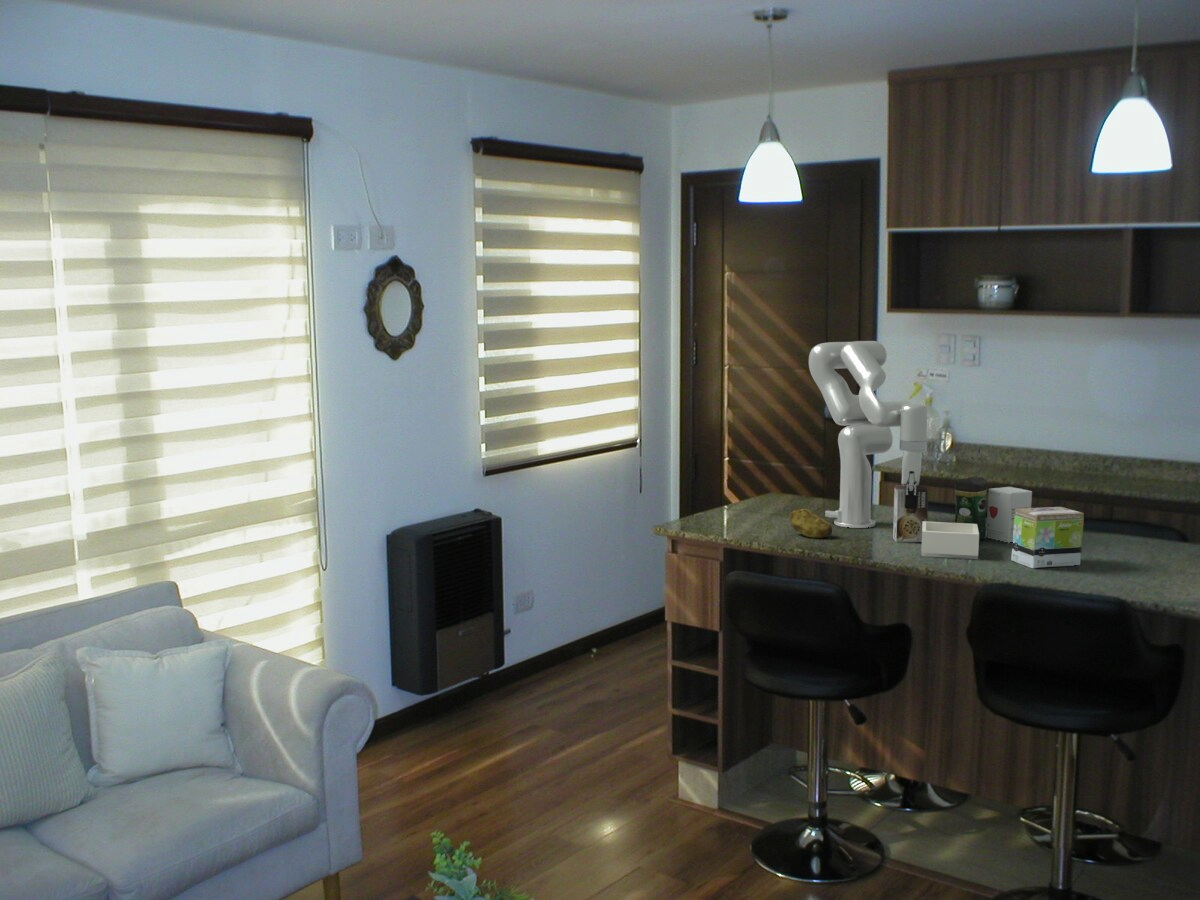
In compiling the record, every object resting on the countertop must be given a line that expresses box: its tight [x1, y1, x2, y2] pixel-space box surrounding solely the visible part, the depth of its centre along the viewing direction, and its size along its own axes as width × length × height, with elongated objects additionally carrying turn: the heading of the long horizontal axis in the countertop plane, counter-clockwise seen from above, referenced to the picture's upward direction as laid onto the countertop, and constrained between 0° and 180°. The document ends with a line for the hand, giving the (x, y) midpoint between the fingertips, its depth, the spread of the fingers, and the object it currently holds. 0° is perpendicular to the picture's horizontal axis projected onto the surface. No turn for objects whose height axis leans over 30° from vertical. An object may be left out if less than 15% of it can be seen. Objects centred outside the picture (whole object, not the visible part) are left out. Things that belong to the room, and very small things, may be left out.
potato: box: [788, 508, 833, 539], centre depth 351 cm, size 8×13×8 cm, turn 39°
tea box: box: [1010, 506, 1085, 569], centre depth 315 cm, size 15×10×15 cm
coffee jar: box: [954, 476, 988, 541], centre depth 346 cm, size 10×8×19 cm
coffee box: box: [892, 484, 929, 543], centre depth 345 cm, size 9×6×16 cm
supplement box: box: [985, 486, 1033, 544], centre depth 346 cm, size 9×9×15 cm
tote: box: [920, 520, 980, 560], centre depth 330 cm, size 15×15×7 cm
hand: (910, 505), depth 344 cm, fingers closed on coffee box, 7 cm apart
